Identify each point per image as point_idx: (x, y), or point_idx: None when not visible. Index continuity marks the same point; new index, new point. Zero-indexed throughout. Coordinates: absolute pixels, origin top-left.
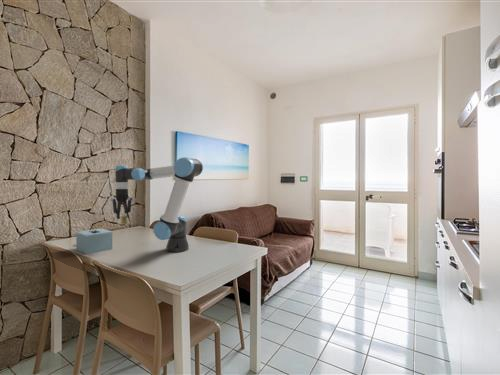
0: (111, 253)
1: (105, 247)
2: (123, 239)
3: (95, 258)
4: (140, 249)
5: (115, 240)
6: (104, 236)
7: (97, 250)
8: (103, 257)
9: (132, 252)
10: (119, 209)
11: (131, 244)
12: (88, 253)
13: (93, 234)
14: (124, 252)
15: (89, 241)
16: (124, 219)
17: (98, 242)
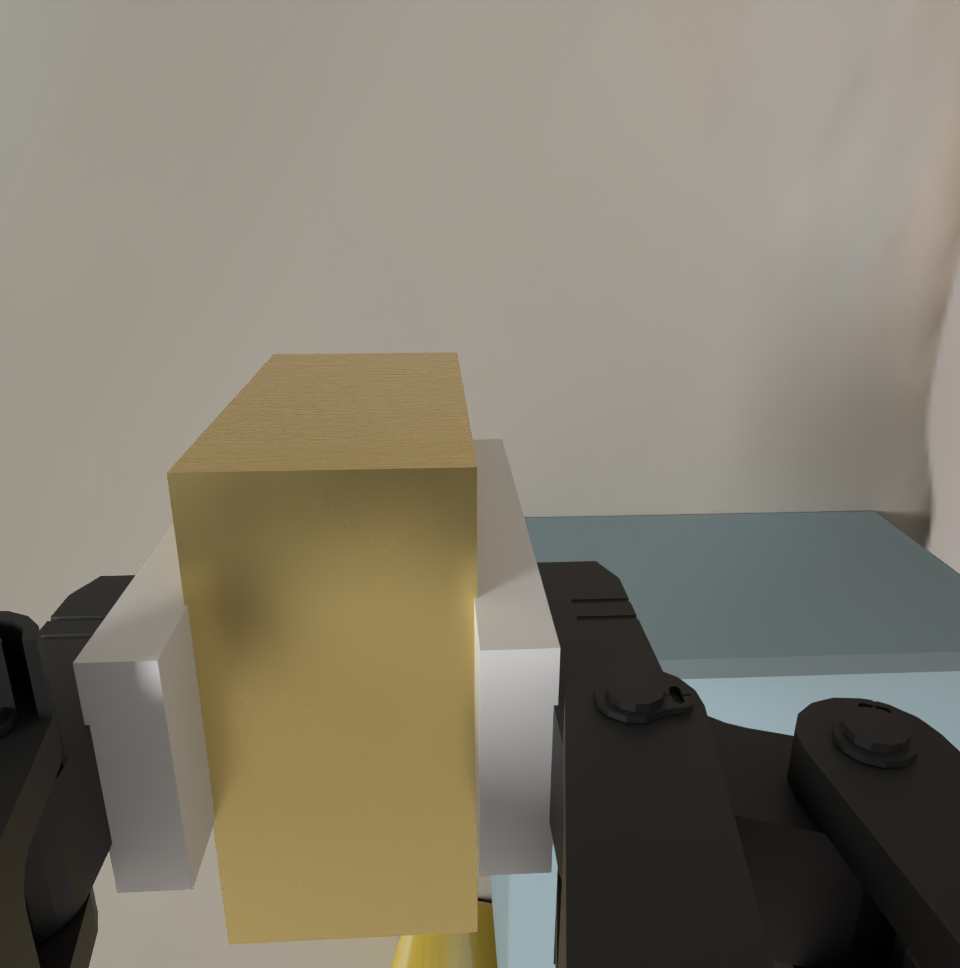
0: (631, 266)
1: (608, 535)
2: (102, 922)
3: (934, 179)
4: (146, 102)
5: (223, 940)
6: (678, 633)
7: (728, 524)
8: (835, 131)
9: (356, 19)
10: (678, 960)
11: (129, 560)
12: (851, 514)
13: (945, 671)
14: (457, 146)
15: (942, 601)
16: (346, 406)
17: (760, 582)
